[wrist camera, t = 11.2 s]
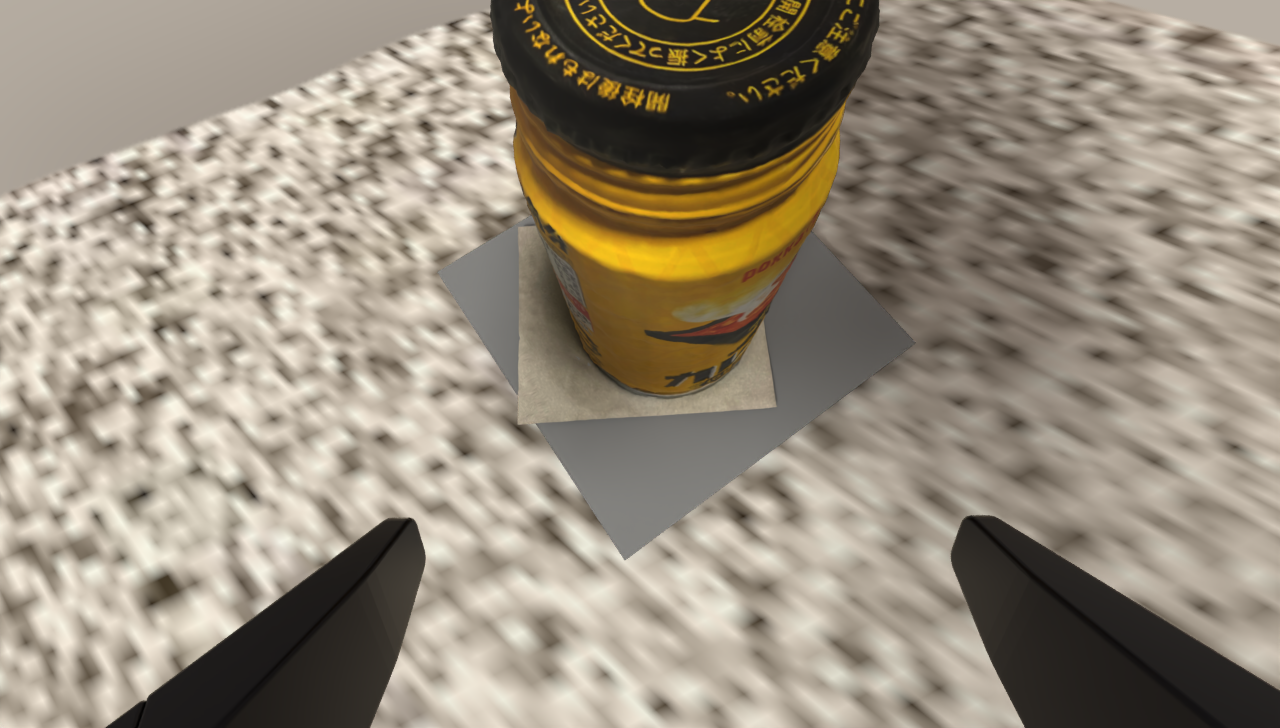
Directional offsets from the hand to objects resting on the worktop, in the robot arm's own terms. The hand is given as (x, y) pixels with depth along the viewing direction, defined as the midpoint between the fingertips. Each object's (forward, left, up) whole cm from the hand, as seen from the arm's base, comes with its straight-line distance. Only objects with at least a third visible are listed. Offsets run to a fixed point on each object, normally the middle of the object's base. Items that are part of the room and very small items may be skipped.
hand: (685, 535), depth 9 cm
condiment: (+6, -3, -8) cm, 11 cm away
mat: (+6, -4, -8) cm, 11 cm away
